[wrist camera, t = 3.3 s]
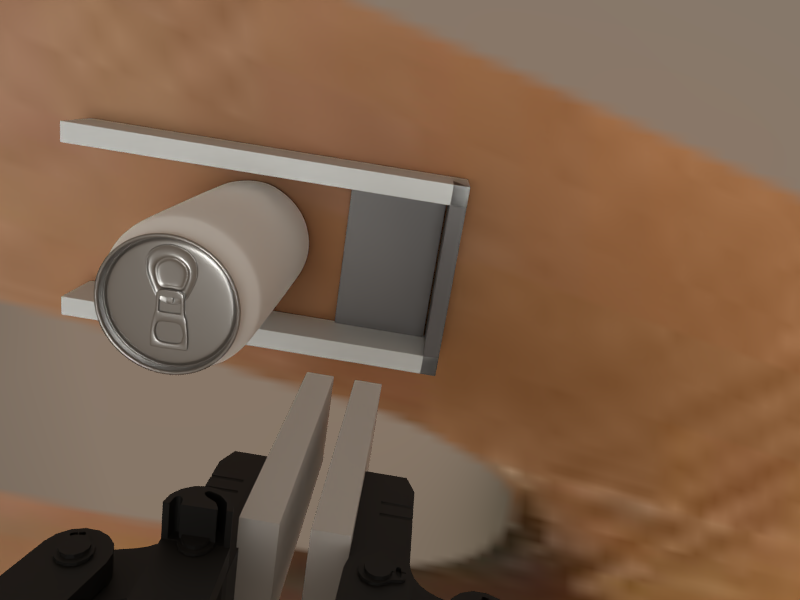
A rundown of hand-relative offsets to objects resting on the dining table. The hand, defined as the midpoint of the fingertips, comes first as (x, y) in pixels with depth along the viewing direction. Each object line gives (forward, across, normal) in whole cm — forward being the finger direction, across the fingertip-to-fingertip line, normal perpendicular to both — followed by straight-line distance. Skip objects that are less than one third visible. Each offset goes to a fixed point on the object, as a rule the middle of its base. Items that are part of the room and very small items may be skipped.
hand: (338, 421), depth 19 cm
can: (+19, +8, 0) cm, 20 cm away
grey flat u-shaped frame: (+18, +6, 0) cm, 20 cm away
